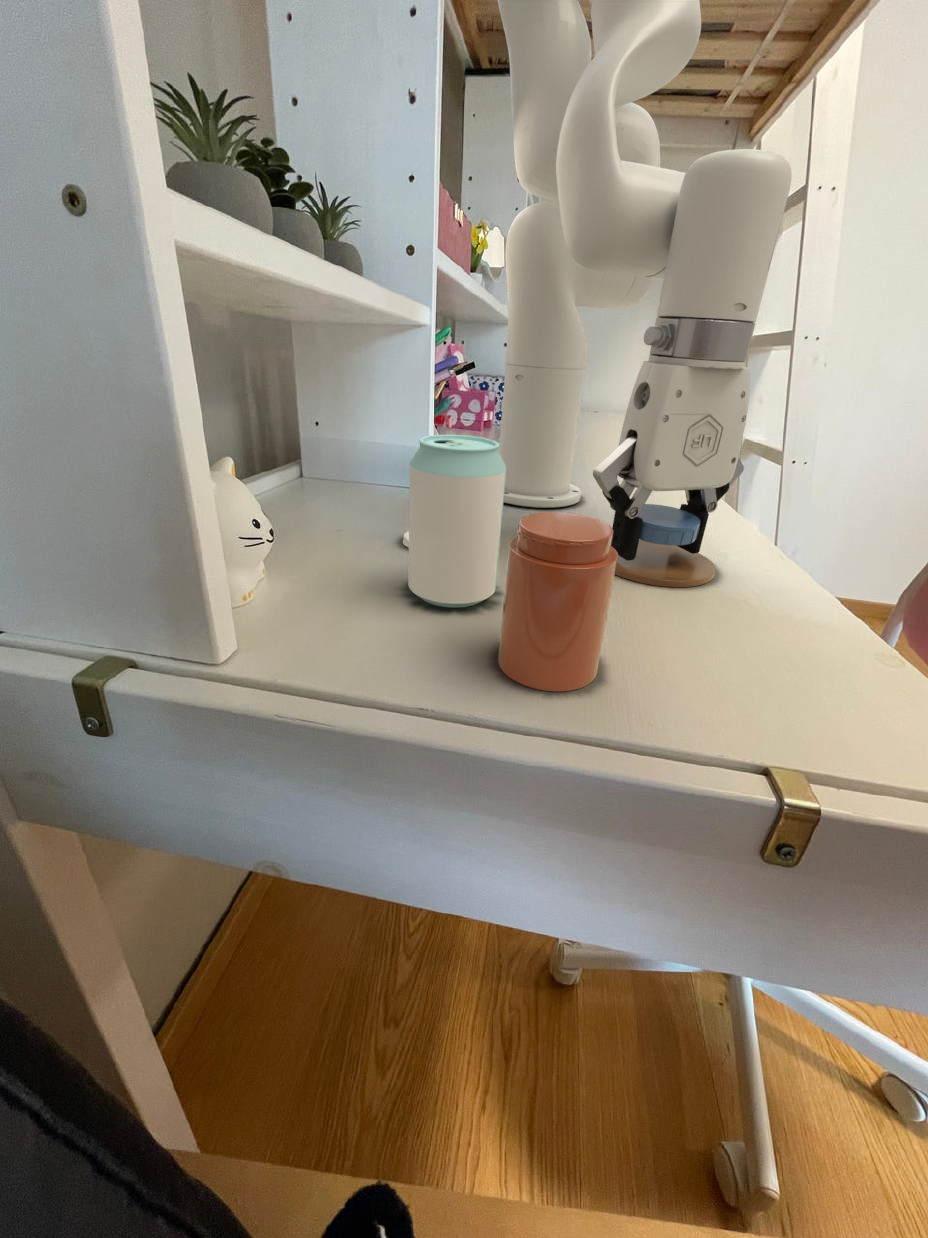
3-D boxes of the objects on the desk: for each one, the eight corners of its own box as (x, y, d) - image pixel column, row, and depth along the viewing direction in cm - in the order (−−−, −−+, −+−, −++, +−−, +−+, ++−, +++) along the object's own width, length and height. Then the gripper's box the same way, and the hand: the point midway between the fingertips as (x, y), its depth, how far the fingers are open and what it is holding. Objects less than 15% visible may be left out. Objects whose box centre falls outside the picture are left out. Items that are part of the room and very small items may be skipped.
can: (399, 606, 45) (400, 444, 39) (417, 572, 51) (420, 429, 45) (491, 616, 44) (505, 453, 39) (498, 580, 50) (511, 436, 45)
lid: (709, 546, 52) (714, 528, 52) (637, 545, 51) (641, 526, 51) (676, 521, 58) (680, 504, 57) (611, 519, 57) (614, 502, 56)
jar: (484, 645, 40) (495, 511, 36) (569, 636, 42) (589, 507, 38) (520, 697, 34) (537, 546, 30) (615, 684, 36) (644, 540, 32)
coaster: (575, 547, 59) (576, 542, 59) (668, 542, 62) (669, 536, 62) (634, 591, 50) (636, 585, 49) (740, 582, 53) (742, 576, 53)
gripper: (641, 343, 41) (599, 576, 50) (814, 353, 48) (752, 558, 56) (583, 338, 47) (555, 545, 56) (744, 347, 54) (697, 532, 62)
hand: (654, 550), depth 56 cm, fingers closed on lid, 6 cm apart
